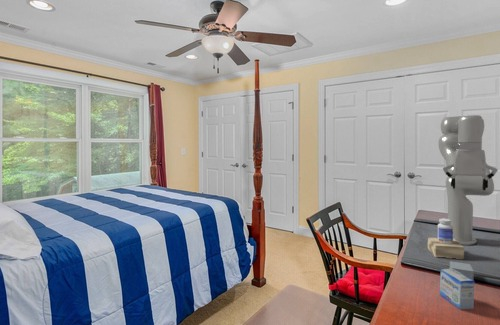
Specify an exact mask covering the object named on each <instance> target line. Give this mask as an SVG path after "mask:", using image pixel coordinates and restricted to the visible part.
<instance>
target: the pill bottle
mask: <svg viewBox="0 0 500 325" xmlns="http://www.w3.org/2000/svg"><path fill="white" fill-rule="evenodd" d="M438 222H439V223H438V224H437V238H438V242H440V243H443V244H452V243H453V226H452V225H450V224H451V220H450V219H448V218H439V220H438Z"/></svg>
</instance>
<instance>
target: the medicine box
mask: <svg viewBox="0 0 500 325" xmlns="http://www.w3.org/2000/svg"><path fill="white" fill-rule="evenodd" d="M439 278H440V281H439V282H440V284H439V286H440V287H439V296H441V297H442V299H444V300H446V301H447V302H449V303H450V304H452V305H453V306H454V307H456V308H457V309H459V310H461V311H462V310H473V309H474V308H475V307H474V306H475V305H474V304H475V280H474V279H473V280H472V279H470V278H468V277H466V276H465V275H463V274H461V273H459V272H458V271H456V270H454V269H450V268H443V269H440V277H439Z"/></svg>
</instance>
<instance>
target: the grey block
mask: <svg viewBox="0 0 500 325" xmlns="http://www.w3.org/2000/svg"><path fill="white" fill-rule="evenodd" d="M449 269H454V270H456V271H458V272H459V273H461V274H463V275H465V276H466V277H468V278H470V279H472V280H474V274H475V273H474V269H473V267H472V266H471V264H470V263H464V262H458V261H452V260H451V261H449Z"/></svg>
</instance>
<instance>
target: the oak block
mask: <svg viewBox="0 0 500 325" xmlns="http://www.w3.org/2000/svg"><path fill="white" fill-rule="evenodd" d="M427 249H428V250H429V252H431V254H432V255H433V256H434V257H435V258H438V257H446V258H445V259H452V258H456V259H457V260H464V259H465V247H464V246H463V245H462V244H460V243H458V242H457V241H456V240H455V239H453V243H452V244H443V243H440V242H438V237H427ZM456 259H455V260H456Z"/></svg>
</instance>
